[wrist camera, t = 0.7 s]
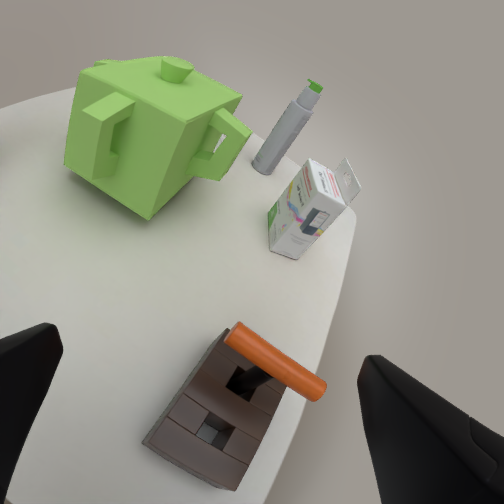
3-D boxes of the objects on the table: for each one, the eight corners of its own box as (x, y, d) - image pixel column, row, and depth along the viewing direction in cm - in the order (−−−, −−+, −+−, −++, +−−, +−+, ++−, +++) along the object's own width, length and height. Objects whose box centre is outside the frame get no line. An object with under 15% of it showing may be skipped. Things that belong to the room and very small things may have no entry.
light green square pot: (157, 279, 29) (225, 136, 18) (19, 179, 26) (31, 46, 15) (232, 178, 48) (286, 93, 37) (128, 118, 45) (161, 33, 34)
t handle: (256, 421, 24) (323, 398, 18) (186, 375, 24) (230, 335, 18) (263, 406, 26) (329, 378, 19) (196, 361, 26) (242, 316, 19)
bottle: (257, 159, 57) (311, 78, 44) (274, 171, 57) (331, 91, 44) (247, 163, 54) (304, 76, 41) (265, 177, 54) (325, 91, 41)
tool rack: (218, 488, 18) (235, 491, 16) (141, 442, 18) (147, 441, 16) (272, 383, 28) (292, 373, 26) (213, 341, 28) (227, 327, 26)
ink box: (266, 211, 46) (319, 139, 37) (292, 223, 48) (347, 156, 39) (268, 251, 41) (333, 171, 31) (297, 262, 42) (364, 190, 33)
